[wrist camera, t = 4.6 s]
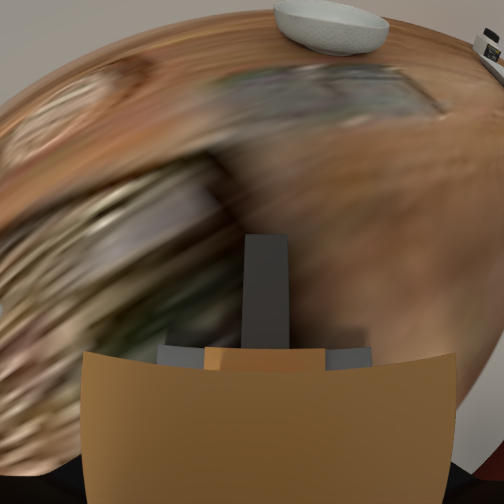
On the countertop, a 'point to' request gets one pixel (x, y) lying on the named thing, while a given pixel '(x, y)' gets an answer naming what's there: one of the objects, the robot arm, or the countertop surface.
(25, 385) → the countertop surface
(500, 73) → the salad plate
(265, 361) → the brown boxy piece
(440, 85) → the countertop surface
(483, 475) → the plant pot
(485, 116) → the countertop surface
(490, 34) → the medicine bottle
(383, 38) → the cereal bowl
